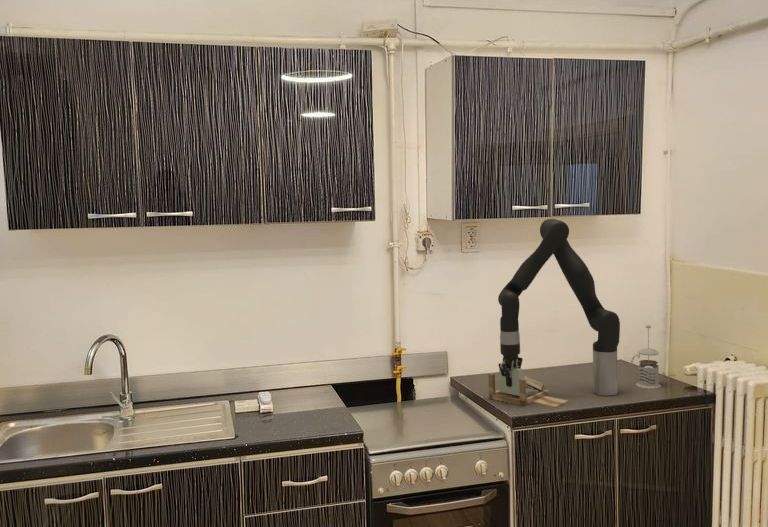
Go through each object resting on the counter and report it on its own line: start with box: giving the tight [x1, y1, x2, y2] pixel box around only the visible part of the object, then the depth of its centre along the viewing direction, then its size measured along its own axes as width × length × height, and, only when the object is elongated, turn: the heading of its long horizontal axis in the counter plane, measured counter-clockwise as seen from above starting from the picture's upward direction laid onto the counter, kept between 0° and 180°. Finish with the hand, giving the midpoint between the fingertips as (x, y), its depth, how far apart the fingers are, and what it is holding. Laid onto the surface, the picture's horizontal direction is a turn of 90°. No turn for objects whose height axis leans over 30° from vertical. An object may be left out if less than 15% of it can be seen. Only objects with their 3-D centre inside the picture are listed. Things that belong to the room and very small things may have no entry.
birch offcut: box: [523, 375, 546, 392], centre depth 281 cm, size 6×8×2 cm
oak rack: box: [487, 372, 550, 407], centre depth 276 cm, size 18×16×10 cm
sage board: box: [498, 367, 524, 396], centre depth 272 cm, size 3×9×10 cm, turn 46°
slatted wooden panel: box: [532, 395, 569, 408], centre depth 268 cm, size 9×10×1 cm
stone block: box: [505, 385, 540, 398], centre depth 279 cm, size 12×5×10 cm
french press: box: [630, 324, 662, 389], centre depth 286 cm, size 10×12×25 cm
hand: (511, 385), depth 272 cm, fingers closed on sage board, 2 cm apart
